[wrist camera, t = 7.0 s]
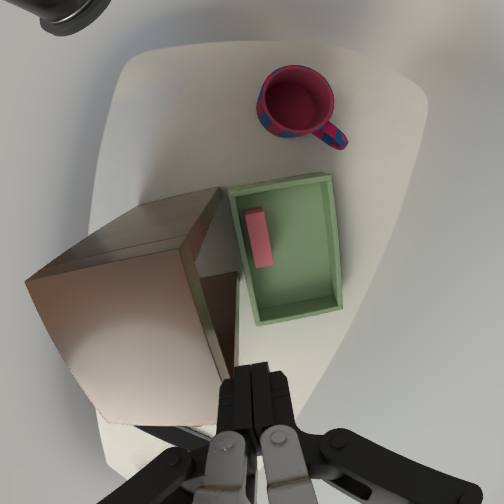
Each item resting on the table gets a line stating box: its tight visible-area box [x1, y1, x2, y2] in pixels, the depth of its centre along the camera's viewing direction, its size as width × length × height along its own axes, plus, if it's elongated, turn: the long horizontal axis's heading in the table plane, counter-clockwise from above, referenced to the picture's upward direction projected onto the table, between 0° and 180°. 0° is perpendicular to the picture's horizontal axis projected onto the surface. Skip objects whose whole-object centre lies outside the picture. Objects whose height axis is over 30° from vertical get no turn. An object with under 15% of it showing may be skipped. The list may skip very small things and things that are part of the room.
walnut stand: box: [25, 187, 239, 426], centre depth 24 cm, size 12×10×21 cm
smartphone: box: [133, 425, 211, 451], centre depth 46 cm, size 7×1×15 cm
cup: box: [257, 65, 348, 150], centre depth 26 cm, size 7×10×7 cm
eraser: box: [245, 206, 274, 268], centre depth 32 cm, size 6×3×2 cm
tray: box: [228, 172, 343, 326], centre depth 33 cm, size 16×11×4 cm
